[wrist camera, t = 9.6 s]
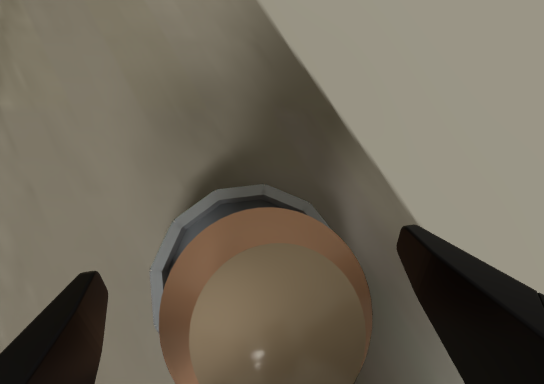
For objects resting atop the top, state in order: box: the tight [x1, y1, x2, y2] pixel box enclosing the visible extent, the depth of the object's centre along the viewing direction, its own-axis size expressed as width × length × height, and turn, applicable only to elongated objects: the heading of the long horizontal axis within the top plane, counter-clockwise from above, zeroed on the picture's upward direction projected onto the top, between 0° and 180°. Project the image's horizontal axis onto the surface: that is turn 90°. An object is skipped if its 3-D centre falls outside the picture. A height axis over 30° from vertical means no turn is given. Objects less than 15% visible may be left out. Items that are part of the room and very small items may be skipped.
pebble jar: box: [159, 207, 373, 384], centre depth 13 cm, size 6×6×12 cm
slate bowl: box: [150, 184, 332, 333], centre depth 18 cm, size 10×10×2 cm
